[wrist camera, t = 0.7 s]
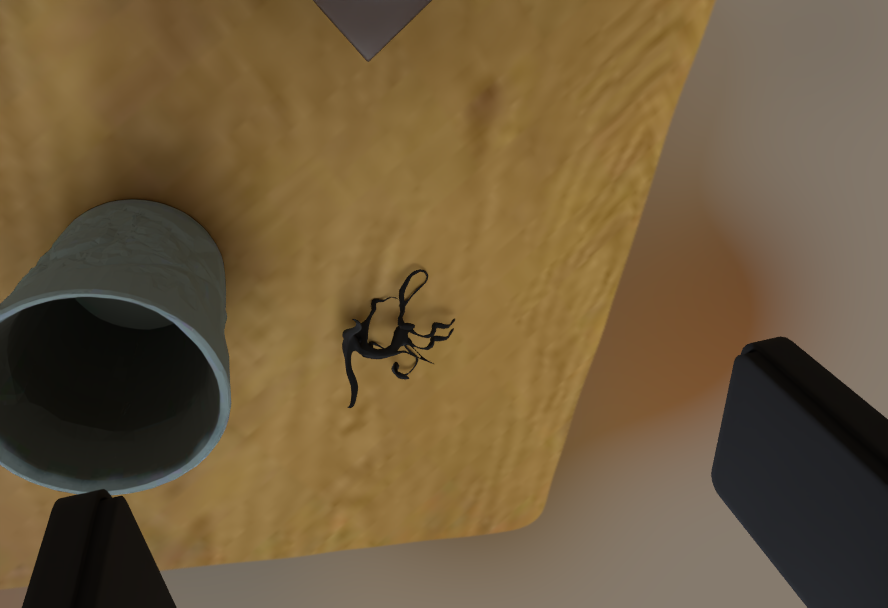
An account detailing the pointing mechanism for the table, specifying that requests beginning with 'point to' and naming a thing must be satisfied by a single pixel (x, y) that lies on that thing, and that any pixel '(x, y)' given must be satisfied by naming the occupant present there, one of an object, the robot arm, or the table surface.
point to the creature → (359, 335)
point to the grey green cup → (116, 353)
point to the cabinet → (370, 20)
